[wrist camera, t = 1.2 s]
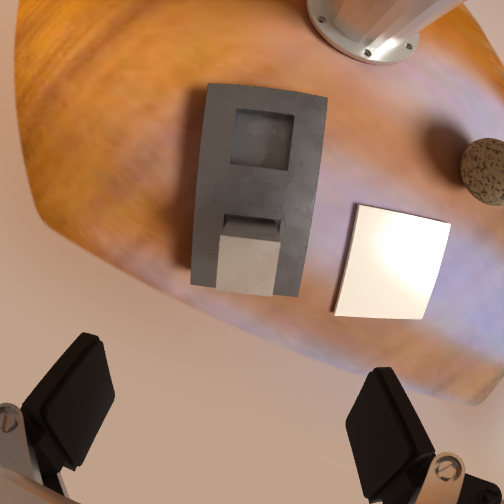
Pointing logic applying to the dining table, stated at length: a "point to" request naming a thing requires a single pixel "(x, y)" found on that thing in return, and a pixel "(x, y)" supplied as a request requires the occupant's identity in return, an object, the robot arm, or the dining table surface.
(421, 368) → the dining table surface
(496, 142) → the decorative egg
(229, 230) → the steel block
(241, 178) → the block with square recesses
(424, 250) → the tile
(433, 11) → the robot arm
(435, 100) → the dining table surface
